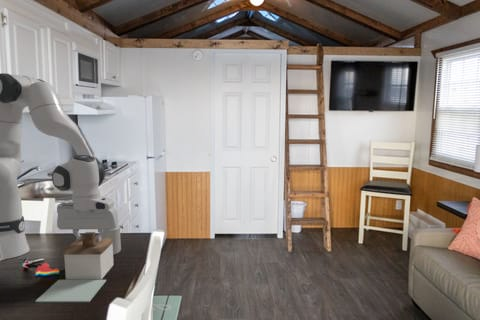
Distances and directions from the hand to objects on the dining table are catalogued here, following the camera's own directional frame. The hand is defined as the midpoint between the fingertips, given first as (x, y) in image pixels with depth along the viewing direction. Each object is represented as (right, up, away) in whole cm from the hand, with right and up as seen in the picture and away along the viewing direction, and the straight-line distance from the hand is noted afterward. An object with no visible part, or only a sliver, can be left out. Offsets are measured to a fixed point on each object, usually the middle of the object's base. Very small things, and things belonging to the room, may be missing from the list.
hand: (89, 241), depth 128 cm
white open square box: (0, -11, +1) cm, 11 cm away
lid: (0, -2, 0) cm, 2 cm away
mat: (0, -13, -13) cm, 18 cm away
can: (+1, -9, +19) cm, 21 cm away
